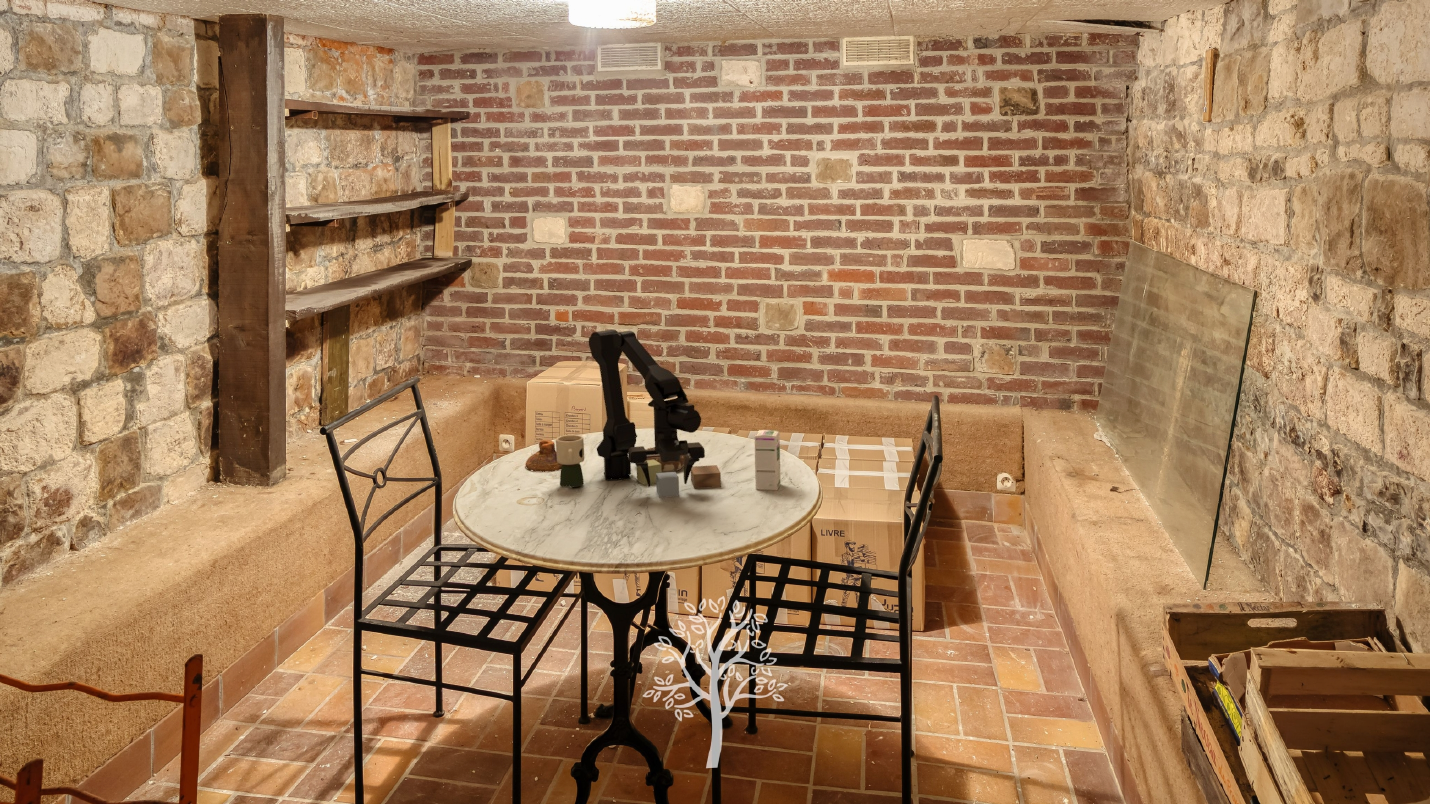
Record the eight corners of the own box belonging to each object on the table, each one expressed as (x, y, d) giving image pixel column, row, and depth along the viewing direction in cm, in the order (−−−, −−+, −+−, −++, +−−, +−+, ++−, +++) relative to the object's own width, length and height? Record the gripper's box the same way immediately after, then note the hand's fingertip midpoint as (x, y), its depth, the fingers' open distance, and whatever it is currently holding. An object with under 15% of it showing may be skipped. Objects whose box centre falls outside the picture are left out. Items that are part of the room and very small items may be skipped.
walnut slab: (694, 489, 260) (693, 474, 259) (690, 481, 267) (690, 466, 266) (720, 487, 261) (720, 472, 260) (717, 479, 268) (716, 465, 267)
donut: (689, 461, 285) (688, 443, 284) (683, 475, 272) (682, 457, 271) (639, 460, 286) (639, 443, 285) (631, 474, 273) (630, 457, 272)
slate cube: (659, 498, 253) (658, 479, 252) (656, 491, 258) (656, 473, 257) (679, 496, 254) (678, 477, 253) (675, 490, 259) (675, 471, 258)
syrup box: (777, 490, 257) (777, 435, 254) (754, 489, 258) (754, 435, 255) (780, 484, 262) (780, 430, 259) (758, 482, 263) (757, 429, 260)
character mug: (586, 491, 259) (584, 442, 256) (558, 493, 258) (555, 444, 255) (585, 479, 269) (582, 432, 266) (558, 480, 268) (555, 433, 265)
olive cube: (644, 485, 264) (643, 466, 263) (637, 480, 268) (636, 462, 267) (661, 482, 266) (661, 464, 265) (654, 477, 270) (653, 459, 269)
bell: (565, 472, 276) (563, 447, 275) (521, 473, 277) (519, 447, 275) (571, 460, 288) (570, 435, 286) (530, 461, 288) (528, 436, 286)
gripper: (632, 436, 243) (634, 498, 246) (708, 431, 246) (709, 491, 250) (627, 425, 253) (629, 484, 257) (699, 420, 257) (701, 478, 260)
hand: (667, 485), depth 256 cm, fingers open, 9 cm apart
